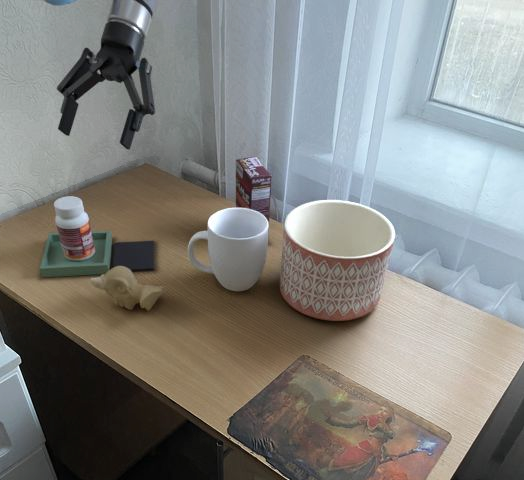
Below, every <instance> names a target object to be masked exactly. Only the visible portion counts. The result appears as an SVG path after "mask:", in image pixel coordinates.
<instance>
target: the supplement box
mask: <svg viewBox="0 0 524 480" xmlns="http://www.w3.org/2000/svg"><path fill="white" fill-rule="evenodd" d="M272 177H273V176H272V174H271V173H270V172H269V171H268V170H267V168H266V167H265V166H264V165H263V164H262V163H261V161H260V160H259V159H258V156H249V157H244V158H237V159H235V208H247V209H251V210H255V211H257V212H259V213H261V214H262V215H264V216H265V217H266V219H267V221H268V234H269V230H270V214H271V212H270V211H271V194H272Z"/></svg>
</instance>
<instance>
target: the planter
mask: <svg viewBox="0 0 524 480" xmlns="http://www.w3.org/2000/svg"><path fill="white" fill-rule="evenodd" d="M282 234H283V235H282V249H281V260H280V261H281V262H280V273H279V292H280V294H281V296H282V298H283V299H284V301H285V302H286V303H287V304H288V305H289V306H290V307H292V309H295V310H296V311H298V312H299V313H301V314H303V315H305V316H308V317H311V318H315V319H317V320H323V321H331V322H343V321H344V322H345V321H351V320H355V319H358V318H361V317H364V316H365V315H367V314H369V313H371V312H372V311H373V310H374V309H375V308H376V307H377V305H378V304H379V302H380V300H381V297H382V292H383V287H384V283H385V279H386V275H387V271H388V267H389V263H390V259H391V255H392V251H393V248H394V244H395V239H396V231H395V227H394V225H393V224H392V222H391V221H390V220H389V219H388V218H387V217H386V216H385V215H384V214H382V213H381V212H379V211H377V210H376V209H373V208H372V207H369V206H367V205H364V204H361V203H358V202H353V201H347V200H341V199H322V200H321V199H320V200H313V201H310V202H309V201H308V202H306V203H303V204H300V205H298V206H296V207H295V208H293V209H292V210H291V211H290V212H289V213H288V214H287V215H286V217H285V219H284V225H283V233H282Z"/></svg>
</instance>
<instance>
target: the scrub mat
mask: <svg viewBox="0 0 524 480" xmlns="http://www.w3.org/2000/svg"><path fill="white" fill-rule="evenodd" d="M112 259H113V260H112V268H114V267H116V266H124V267H127V268H128V269H130V270H131V271H132V273H133V272H149V271H150V272H151V271H155V241H154V240H142V241H141V240H139V241H120V242H119V241H118V242H114V250H113V258H112Z"/></svg>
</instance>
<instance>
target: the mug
mask: <svg viewBox="0 0 524 480" xmlns="http://www.w3.org/2000/svg"><path fill="white" fill-rule="evenodd" d="M198 240H205V241H207V248H208V249H207V250H208V256H209V262H210V265H206V264H203V263H201V262H199V261H198V260H197V258H196V256H195V253H194V245H195V243H196V241H198ZM268 244H269V233H268V221H267V219H266V217H265V216H264V215H262V214H261V213H259V212H257V211H255V210H251V209H247V208H236V207H227V208H223V209H220V210H218V211H216V212H214V213H213V214H211V215H210V216H209V218H208V219H207V230H201V231H200V230H199V231H198V232H195V233H194V234H193V236H192V237H191V238H190V240H189V242H188V245H187V256H188V259H189V261H190V263H191V265H192V266H193V267H194V268H195V269H197V270H199V271H200V272H203V273H207V274H212V275H213V274H214V276H215V278H216V280H217V282H218V283H219V284H220V285H221V286H222V287H223V288H224V289H226V290H228V291H231V292H232V291H233V292H243V291H247V290H250V289H251V288H253V286H254V285H255V284H256V283H257V282H258V281H259V279H260V277H261V276H262V274H263V271H264V270H265V269H264V268H265V265H266V261H267V254H268Z"/></svg>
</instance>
